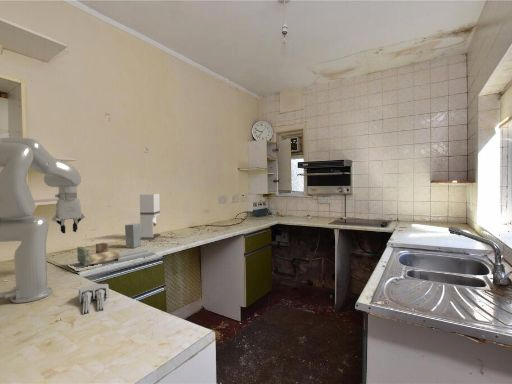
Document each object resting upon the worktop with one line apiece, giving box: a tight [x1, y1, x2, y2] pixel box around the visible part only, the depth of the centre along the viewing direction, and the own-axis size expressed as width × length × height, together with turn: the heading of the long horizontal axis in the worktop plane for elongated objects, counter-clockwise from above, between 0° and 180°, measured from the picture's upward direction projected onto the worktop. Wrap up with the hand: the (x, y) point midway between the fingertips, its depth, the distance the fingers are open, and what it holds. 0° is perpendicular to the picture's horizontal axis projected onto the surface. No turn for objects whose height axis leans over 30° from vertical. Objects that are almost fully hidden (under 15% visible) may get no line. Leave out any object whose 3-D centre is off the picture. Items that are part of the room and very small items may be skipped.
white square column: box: [139, 193, 161, 241], centre depth 208 cm, size 11×11×35 cm
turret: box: [78, 283, 110, 315], centre depth 99 cm, size 10×20×5 cm, turn 30°
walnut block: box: [95, 242, 109, 254], centre depth 162 cm, size 5×5×7 cm
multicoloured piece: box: [76, 246, 122, 266], centre depth 146 cm, size 18×12×9 cm
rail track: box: [68, 249, 157, 269], centre depth 152 cm, size 42×16×1 cm, turn 140°
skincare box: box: [124, 223, 142, 249], centre depth 182 cm, size 8×7×16 cm
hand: (69, 232), depth 135 cm, fingers open, 4 cm apart
